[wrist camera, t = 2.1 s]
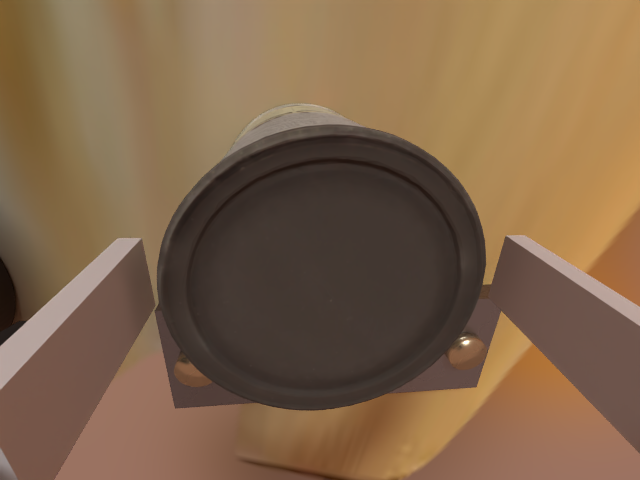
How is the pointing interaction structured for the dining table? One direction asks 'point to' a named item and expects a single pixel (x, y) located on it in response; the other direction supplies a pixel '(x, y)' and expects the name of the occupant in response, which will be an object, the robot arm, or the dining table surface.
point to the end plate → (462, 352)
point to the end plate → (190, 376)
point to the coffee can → (320, 262)
